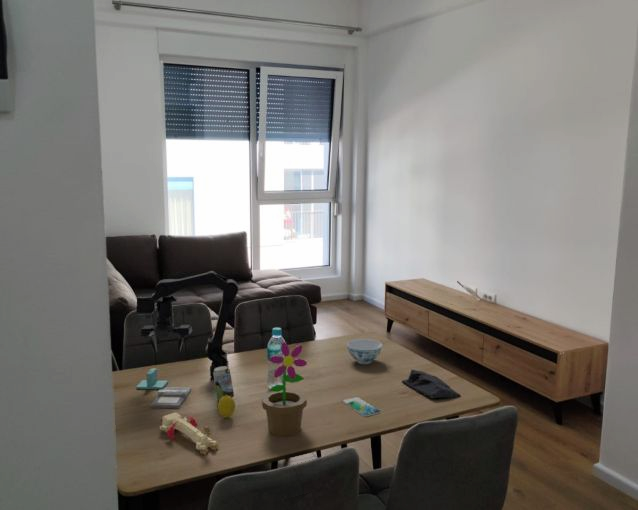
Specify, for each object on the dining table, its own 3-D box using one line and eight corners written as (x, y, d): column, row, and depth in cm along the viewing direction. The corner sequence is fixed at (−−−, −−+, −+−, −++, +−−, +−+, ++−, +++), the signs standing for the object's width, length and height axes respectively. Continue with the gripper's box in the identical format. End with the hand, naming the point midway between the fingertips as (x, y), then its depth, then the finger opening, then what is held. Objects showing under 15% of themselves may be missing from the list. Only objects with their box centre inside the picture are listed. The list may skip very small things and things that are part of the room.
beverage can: (230, 403, 202) (229, 371, 201) (211, 402, 204) (210, 369, 202) (236, 397, 208) (235, 365, 207) (217, 395, 210) (216, 364, 208)
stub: (167, 382, 222) (167, 368, 221) (162, 389, 215) (161, 374, 214) (142, 382, 222) (141, 367, 221) (136, 388, 216) (135, 374, 215)
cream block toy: (223, 450, 172) (179, 418, 189) (224, 424, 170) (179, 394, 188) (195, 462, 165) (151, 428, 182) (196, 435, 164) (151, 402, 181)
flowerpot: (270, 442, 174) (269, 347, 170) (256, 423, 187) (254, 334, 183) (313, 434, 180) (313, 341, 175) (297, 416, 193) (296, 329, 188)
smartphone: (357, 396, 208) (382, 411, 196) (357, 398, 209) (381, 413, 196) (340, 399, 205) (364, 415, 192) (340, 402, 205) (364, 418, 192)
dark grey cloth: (426, 403, 204) (427, 390, 204) (399, 381, 225) (399, 370, 224) (464, 398, 209) (464, 385, 208) (433, 377, 230) (434, 366, 229)
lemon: (227, 423, 187) (227, 399, 186) (214, 419, 190) (214, 396, 189) (238, 416, 192) (238, 394, 191) (225, 413, 195) (225, 390, 194)
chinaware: (383, 367, 239) (383, 349, 238) (347, 367, 239) (347, 349, 238) (380, 355, 254) (380, 339, 253) (346, 355, 254) (346, 338, 253)
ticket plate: (191, 390, 215) (191, 383, 214) (179, 408, 199) (178, 401, 198) (164, 389, 215) (164, 383, 215) (150, 407, 199) (150, 400, 199)
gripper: (134, 318, 213) (137, 359, 215) (184, 318, 212) (186, 358, 215) (143, 311, 224) (146, 349, 226) (191, 310, 223) (193, 349, 226)
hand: (167, 351), depth 223 cm, fingers open, 9 cm apart
